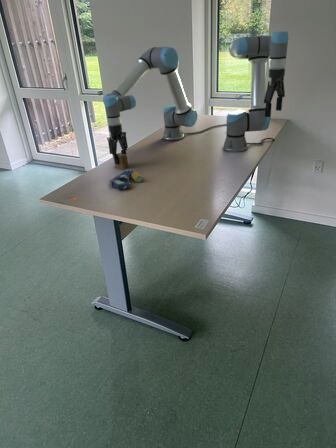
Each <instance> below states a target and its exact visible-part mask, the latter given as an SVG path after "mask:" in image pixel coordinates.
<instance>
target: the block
mask: <svg viewBox="0 0 336 448" xmlns="http://www.w3.org/2000/svg"><path fill="white" fill-rule="evenodd" d="M117 154H118V159H119V165H118V164H115V159H114V158H113V163H114V168H115V169H118V170H123V171H124V170H126V169H127V168H129V161H128V160H129V159H128V154H127V153H126V154H122V153H121V152H118V153H117Z"/></svg>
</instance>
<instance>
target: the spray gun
mask: <svg viewBox="0 0 336 448" xmlns="http://www.w3.org/2000/svg"><path fill="white" fill-rule="evenodd" d="M131 179H132V180H133V181H135V183H141V182H142V180H143V175H141V174H140V173H139V172H137V171H134V169H133V168H130V169H123V171H121V172H120V173H119V174H117V175H116V176H115V177H113V178H112V179H110V180H109V181H108V186H109V187H111V188H116V189H117V190H120V191H121V190H126V189H128V188H129V187H131V185H132V184H131V182H130V180H131Z"/></svg>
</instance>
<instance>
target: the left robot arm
mask: <svg viewBox="0 0 336 448" xmlns="http://www.w3.org/2000/svg"><path fill="white" fill-rule="evenodd" d="M179 64H180V56H179V53H178V51H177V50H176V49H175V48H174V47H171V46H153V47H150V48H148V49H147V50H146V51H144V52H143V53H142V54H141V55H140V57H138V59H137V60H136V64H135V65H134V66H133V67H132V69H131V70H130V71H129V72H128V73H127V74H126V75H125V77H124V78H122V80H121V81H120V82H119V83H118V85H117V86H116V87H115V88H114V89H113V90H112V91H111V92H110V93H106V94H105V95H104V96H103V97H102V102H103V105H104V109H105V113H106V121H107V125H108V131H109V133H110V135H109V137H106V140H107V143H108V150H109V154H110V155H112V157H113V160H114V159H115V163H114V165H115V164H118V165H119V159H118V153H117V151H118V148H117V147H118V143H119V146H120V148H121V150H120V153H122V154H126V155H127V150H128V148H129V146H128V139H127V132H126V131H123V126H122V121H121V120H122V119H121V113H122V112H125V111H129V110H132V109H134V108H136V106H137V99H136V98H135V96H134V95H133V94H129V93H130V92H131V91H132V90H133V88H134V87H135V86H136V85H137V84H138V83H139V81H140V80H141V79H142V78H143V77H144V76H145V74H149V72H150V71H151V70H154V69H158V71H159V73H160V75H161V76H163V77H164V80H165V83H166V85H167V88H168V90H169V93H170V96H171V99H172V102H173V104H171V105H166V106H165V107H163V113H162V114H163V123H164V130H163V135H162V139H163V140H164V141H167V142H176V141H180V140H182V139H184V137H185V135H194V134H195V135H196V134H199V133H200V134H201V133H202V132H205V131H207V130H210V129H212V128H217V127H222V126H223V127H225V126H227V123H224V124H223V123H222V124H218V125H213V126H210V127H207V128H204V129H202V130H200V131H194V132H183V129H182V127H185V128H192V127H194V126H195V125H196V123H197V121H198V111H197V110H196V109H193V107H192V104H191V103H189V102H188V99H187V97H186V93H185V91H184V88H183V84H182V82H181V78H180V76H179V73H178V69H179Z"/></svg>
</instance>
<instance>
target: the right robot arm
mask: <svg viewBox="0 0 336 448" xmlns="http://www.w3.org/2000/svg"><path fill="white" fill-rule="evenodd" d="M288 42H289V31H287V30H277V31H272V32H271V35H254V36H253V35H252V36H243V37H239V38H236V39H234V40H232V42H231V43H230V44H229V47H228V51H229V54H230V56H231V57H233V58H235V59H238V60H247V63H248V64H249V65H250V107H249V108H248V111H246V110H245V109H235V110H233V111H230V112H228V113H227V114H226V121H225V122H226V124H227V125H226V136H225V140H224V142H223V150H224V151H226V152H231V153H238V152H243V151H246V150H247V149H248V145H262V144H263V142H264V141H266V140H272V141H275V139H274V138H273V137H266V138H262V139H261V140H260V142H247V139H246V133H247V132H249V133H250V132H263V131H266V130H268V129H269V127H270V125H271V119H272V101H273V97H274V95H275V92H276V94H277V97H276V103H275V111H279V112H281V111H282V108H283V98H286V97H285V96H286V92H285V75H286V66H287V55H288ZM267 62H268V63H269V66H268V68H269V69H268V74H267V75H268V78H270V80H268V81H267V86H266V65H267Z"/></svg>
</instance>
